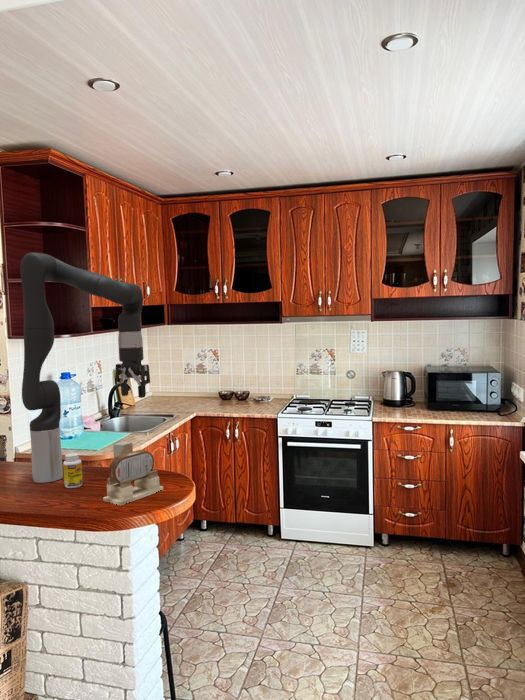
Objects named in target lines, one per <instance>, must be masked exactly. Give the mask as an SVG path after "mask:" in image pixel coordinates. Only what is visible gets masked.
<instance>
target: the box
mask: <svg viewBox="0 0 525 700" xmlns="http://www.w3.org/2000/svg"><path fill="white" fill-rule="evenodd" d="M112 447H113V448H112V449H113V450H112V451H113V459H114V458H115V457H117V456H118V455H121V454H125V453H130V452H133V451H134V449H133V447H134V446H133V442H132V441H125V440H124V441H119V442H117V443H114V444H112Z"/></svg>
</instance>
